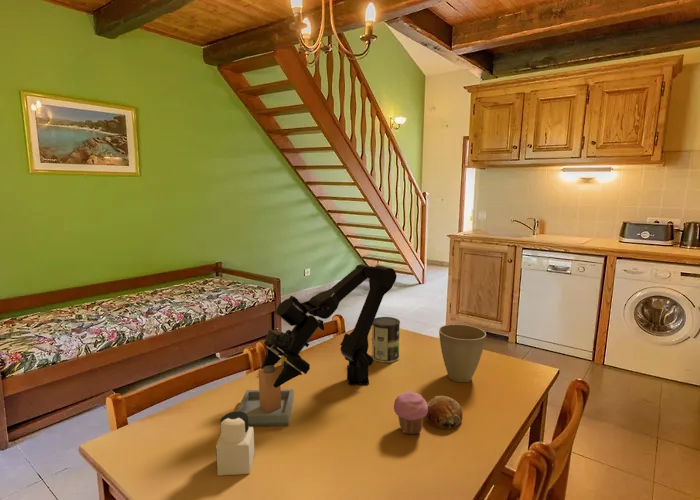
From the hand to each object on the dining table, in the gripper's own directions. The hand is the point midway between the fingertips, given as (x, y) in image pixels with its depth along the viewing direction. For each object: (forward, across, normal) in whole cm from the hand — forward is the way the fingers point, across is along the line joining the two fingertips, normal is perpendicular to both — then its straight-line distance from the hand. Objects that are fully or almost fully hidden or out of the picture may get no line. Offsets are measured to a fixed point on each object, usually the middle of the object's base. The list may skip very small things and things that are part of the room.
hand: (267, 380), depth 114 cm
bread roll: (-19, +32, +33) cm, 50 cm away
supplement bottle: (-6, -23, +20) cm, 31 cm away
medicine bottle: (+18, +17, -4) cm, 25 cm away
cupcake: (-12, +30, +25) cm, 41 cm away
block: (+6, 0, +6) cm, 8 cm away
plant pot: (-36, +18, +50) cm, 64 cm away
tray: (+7, 0, +6) cm, 9 cm away
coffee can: (-29, -9, +43) cm, 53 cm away
